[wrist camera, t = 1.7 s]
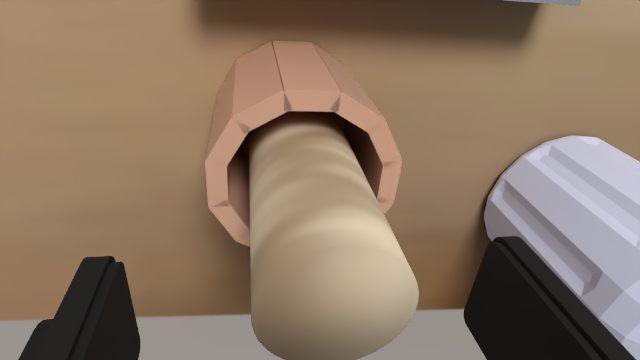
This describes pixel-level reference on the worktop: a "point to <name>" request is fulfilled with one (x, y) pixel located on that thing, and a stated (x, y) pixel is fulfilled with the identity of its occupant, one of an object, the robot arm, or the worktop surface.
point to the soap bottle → (579, 224)
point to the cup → (278, 98)
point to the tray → (552, 1)
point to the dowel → (320, 246)
